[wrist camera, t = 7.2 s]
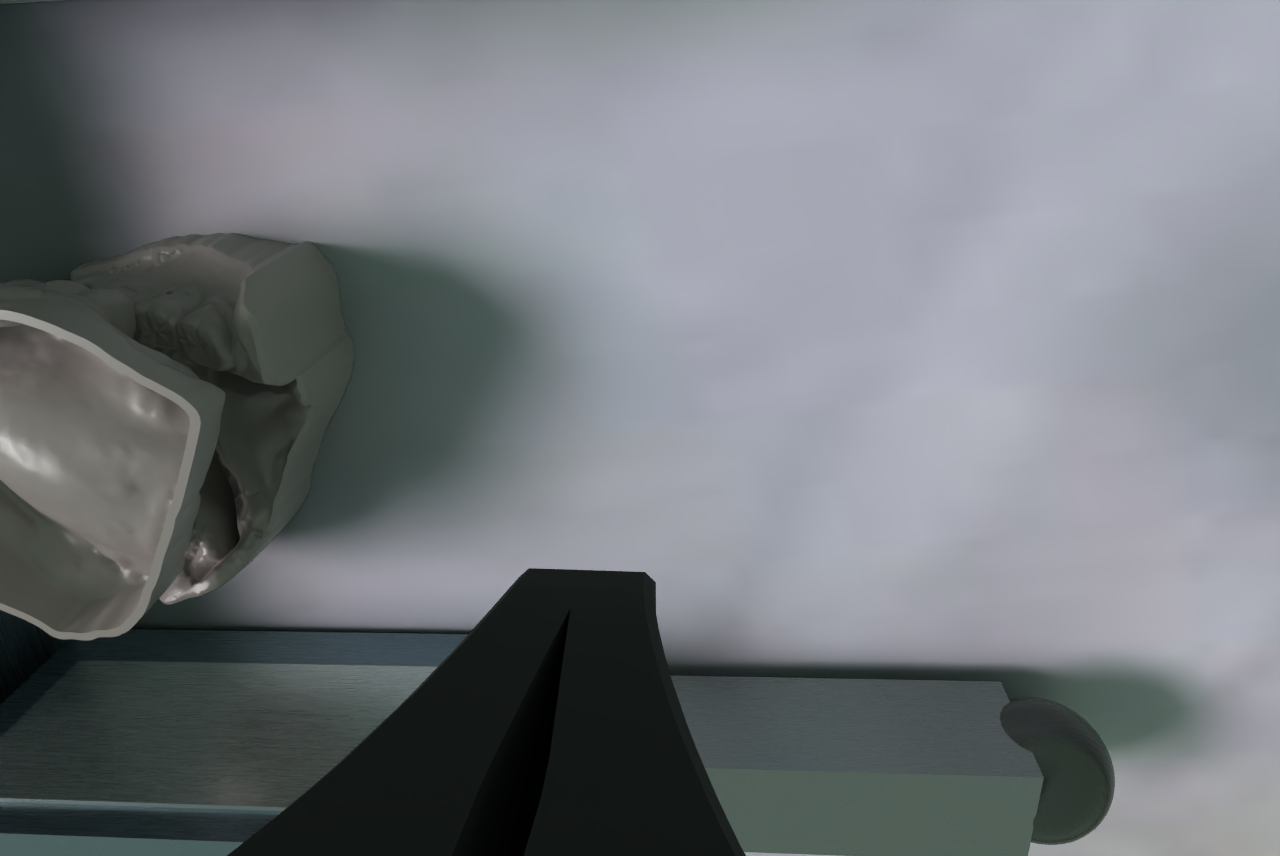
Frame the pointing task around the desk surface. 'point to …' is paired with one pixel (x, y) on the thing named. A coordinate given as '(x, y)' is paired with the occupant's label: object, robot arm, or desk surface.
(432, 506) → the desk surface
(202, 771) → the sliding jaw
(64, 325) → the dental mold
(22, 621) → the vise bed
